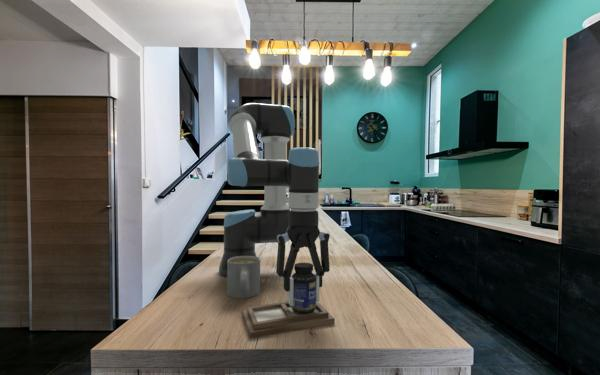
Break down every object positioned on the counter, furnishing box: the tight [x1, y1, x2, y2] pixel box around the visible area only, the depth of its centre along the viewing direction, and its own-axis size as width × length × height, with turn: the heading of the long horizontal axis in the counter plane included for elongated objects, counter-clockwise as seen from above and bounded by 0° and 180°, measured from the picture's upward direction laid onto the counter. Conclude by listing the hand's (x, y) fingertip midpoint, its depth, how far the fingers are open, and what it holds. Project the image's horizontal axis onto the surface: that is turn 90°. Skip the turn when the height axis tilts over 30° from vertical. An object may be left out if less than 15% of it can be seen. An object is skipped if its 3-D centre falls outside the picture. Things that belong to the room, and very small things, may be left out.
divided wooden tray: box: [242, 301, 335, 339], centre depth 70 cm, size 12×20×2 cm, turn 109°
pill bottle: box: [291, 262, 316, 313], centre depth 71 cm, size 6×6×11 cm
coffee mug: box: [226, 255, 261, 299], centre depth 86 cm, size 13×10×10 cm
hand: (303, 301), depth 71 cm, fingers closed on pill bottle, 6 cm apart
